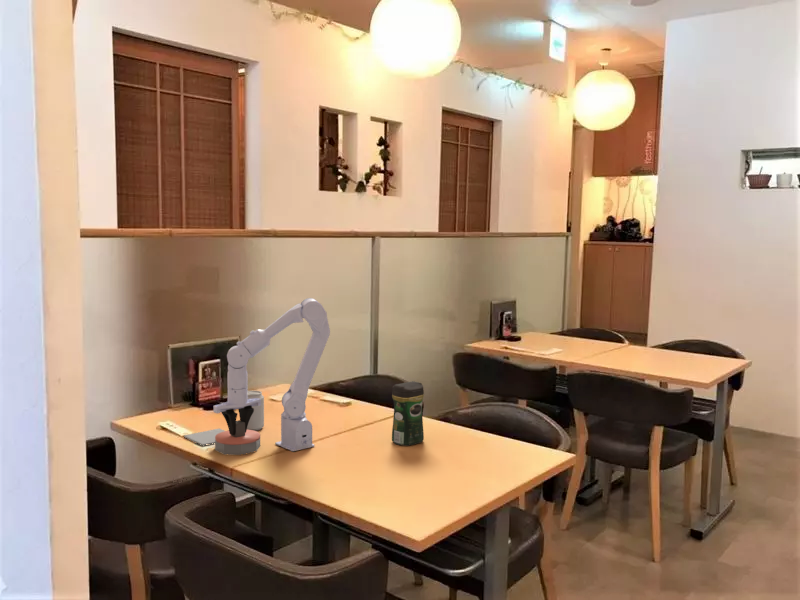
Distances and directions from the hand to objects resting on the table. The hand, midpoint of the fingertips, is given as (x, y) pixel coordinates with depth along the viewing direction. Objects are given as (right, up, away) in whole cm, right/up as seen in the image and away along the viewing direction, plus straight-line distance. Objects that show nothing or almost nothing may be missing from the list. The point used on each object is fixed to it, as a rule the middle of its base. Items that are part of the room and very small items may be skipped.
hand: (237, 433), depth 203 cm
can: (0, -3, +21) cm, 21 cm away
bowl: (0, -5, 0) cm, 4 cm away
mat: (-10, -3, +10) cm, 15 cm away
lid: (0, -2, 0) cm, 2 cm away
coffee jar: (+50, -5, +9) cm, 51 cm away
